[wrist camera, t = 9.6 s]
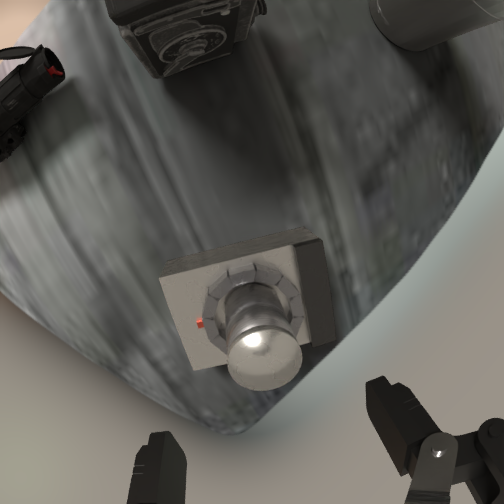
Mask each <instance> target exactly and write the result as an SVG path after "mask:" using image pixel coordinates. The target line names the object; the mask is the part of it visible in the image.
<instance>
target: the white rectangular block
mask: <svg viewBox="0 0 504 504" xmlns="http://www.w3.org/2000/svg"><path fill="white" fill-rule="evenodd" d="M159 280H160V283H161V286H162V289H163V292H164V295H165V298H166V300H167V303H168V306H169V309H170V312H171V314H172V317H173V320H174V322H175V325H176V328H177V330H178V333H179V335H180V338H181V341H182V343H183V346H184V348H185V351H186V353H187V356H188V358H189V361H190V363H191V365H192V368H193V370H199V369H204V368H209V367H214V366H219V365H223V364H228V362H227V344H226V324H225V305H226V302H227V300H228V298H229V297H230V295H231V294H232V293H233V292H234V291H235V290H237V289H238V288H240V287H242V286H245V285H249V284H260V285H264V286H266V287H269V288H270V289H272V290H273V291H274V292H275V293H276V294H277V296H278V297H279V299H280V302H281V304H282V306H283V309H284V311H285V313H286V316H287V318H288V320H289V323H290V325H291V327H292V330H293V332H294V334H295V337H296V339H297V341H298V344H299V345H302V344H306V343H309V342H310V343H311V345H312V347H317V346H320V345H323V344H326V343H330V342H333V341H336V332H335V323H334V315H333V307H332V300H331V292H330V285H329V278H328V272H327V265H326V259H325V252H324V246H323V241H322V240H321V239H320V238H319V237H317V236H316V235H314V234H313V233H312V232H310V231H309V230H308V229H306V228H305V227H304V226H303V227H299V228H295V229H291V230H287V231H283V232H279V233H274V234H270V235H266V236H262V237H258V238H254V239H250V240H246V241H242V242H238V243H234V244H230V245H226V246H223V247H219V248H215V249H211V250H207V251H203V252H199V253H195V254H191V255H187V256H183V257H179V258H175V259H172V260H168V261H167V262H166V264H165V266H164V268H163V270H162V272H161V274H160V277H159Z"/></svg>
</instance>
